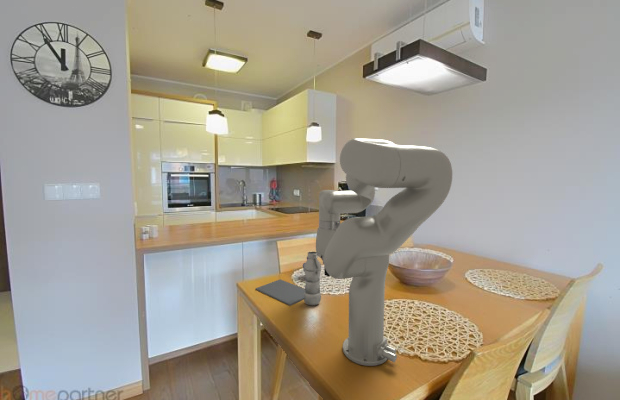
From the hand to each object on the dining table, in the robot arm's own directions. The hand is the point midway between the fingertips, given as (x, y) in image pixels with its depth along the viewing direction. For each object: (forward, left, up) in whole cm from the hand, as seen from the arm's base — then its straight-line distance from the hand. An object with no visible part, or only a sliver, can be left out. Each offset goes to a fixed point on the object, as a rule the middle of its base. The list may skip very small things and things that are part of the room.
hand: (328, 274), depth 97 cm
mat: (+24, 0, -13) cm, 27 cm away
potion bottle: (+26, -19, -14) cm, 35 cm away
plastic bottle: (+8, 0, -14) cm, 16 cm away
